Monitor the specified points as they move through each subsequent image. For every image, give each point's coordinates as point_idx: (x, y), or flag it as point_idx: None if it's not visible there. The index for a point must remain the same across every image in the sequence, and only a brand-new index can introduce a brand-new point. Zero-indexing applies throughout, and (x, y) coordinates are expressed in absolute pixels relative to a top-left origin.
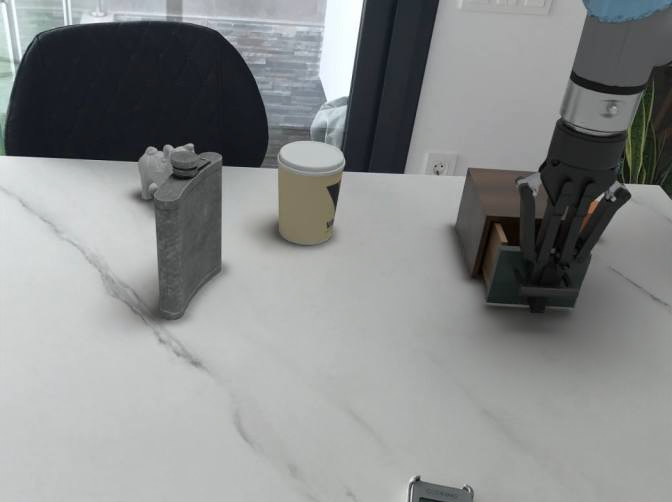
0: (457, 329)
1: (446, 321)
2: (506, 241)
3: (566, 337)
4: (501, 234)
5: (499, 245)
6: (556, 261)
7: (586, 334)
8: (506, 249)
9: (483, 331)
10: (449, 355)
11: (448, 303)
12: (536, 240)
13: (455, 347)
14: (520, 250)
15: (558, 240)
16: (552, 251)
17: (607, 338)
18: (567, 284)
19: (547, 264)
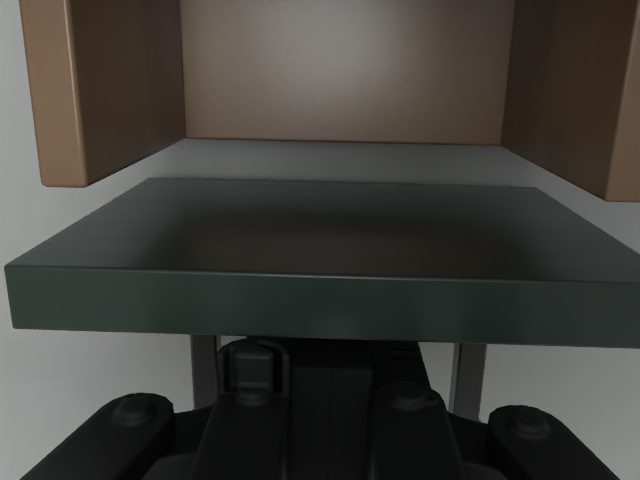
0: (43, 345)
1: (4, 300)
2: (76, 180)
3: (442, 368)
4: (45, 71)
5: (8, 267)
6: (366, 466)
7: (528, 346)
8: (54, 319)
9: (137, 351)
10: (13, 476)
11: (12, 178)
12: (196, 457)
13: (33, 439)
14: (153, 325)
15: (378, 476)
16: (388, 319)
17: (600, 365)
18: (454, 391)
19: (310, 458)
